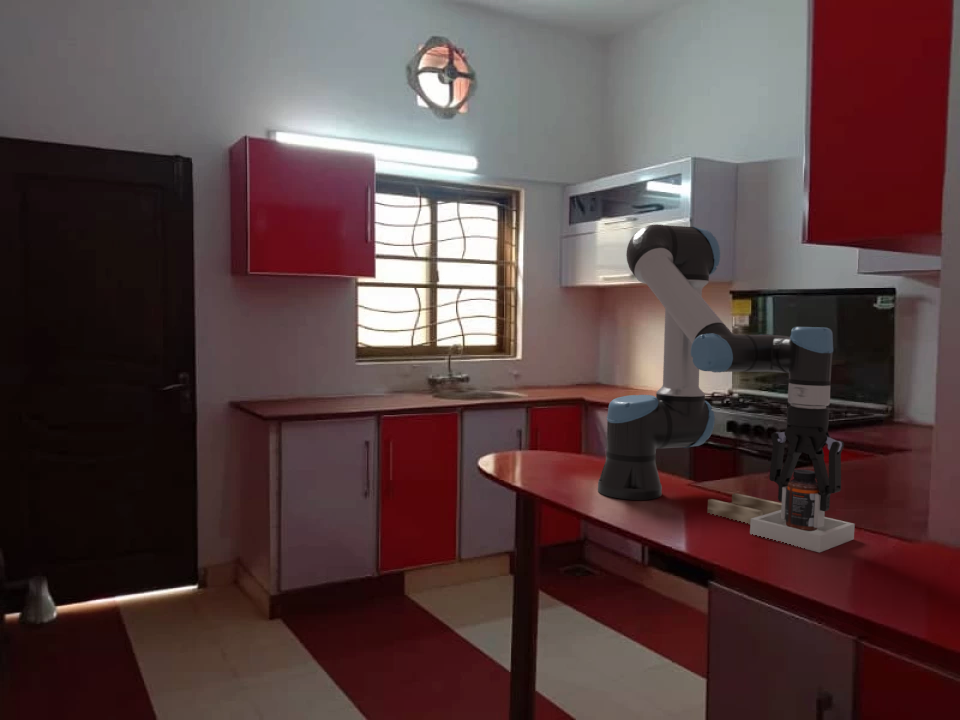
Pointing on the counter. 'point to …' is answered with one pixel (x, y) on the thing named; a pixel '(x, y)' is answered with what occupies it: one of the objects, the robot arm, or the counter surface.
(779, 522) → the tray
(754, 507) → the cradle
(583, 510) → the counter surface
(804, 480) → the supplement bottle
